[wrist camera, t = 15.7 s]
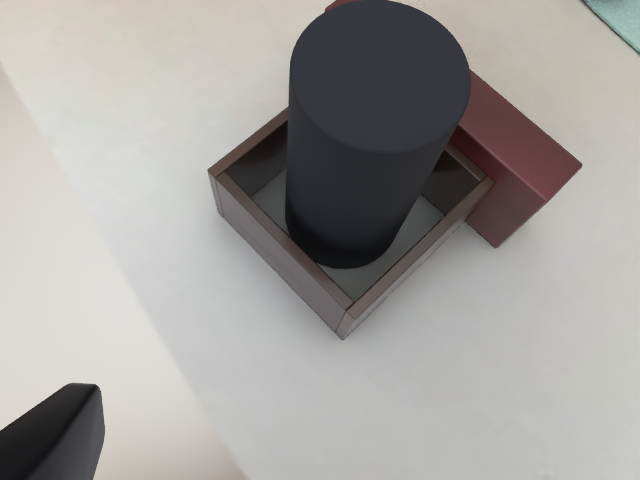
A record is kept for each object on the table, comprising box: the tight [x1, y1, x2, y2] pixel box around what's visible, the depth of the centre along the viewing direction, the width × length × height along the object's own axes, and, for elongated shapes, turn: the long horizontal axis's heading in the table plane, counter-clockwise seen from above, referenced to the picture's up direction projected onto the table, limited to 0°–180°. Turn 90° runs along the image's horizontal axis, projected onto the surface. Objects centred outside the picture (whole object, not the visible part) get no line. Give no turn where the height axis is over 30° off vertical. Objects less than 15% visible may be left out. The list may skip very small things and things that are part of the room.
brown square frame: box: [207, 0, 582, 340], centre depth 20 cm, size 9×10×4 cm
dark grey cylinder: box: [285, 0, 471, 269], centre depth 18 cm, size 4×4×9 cm
